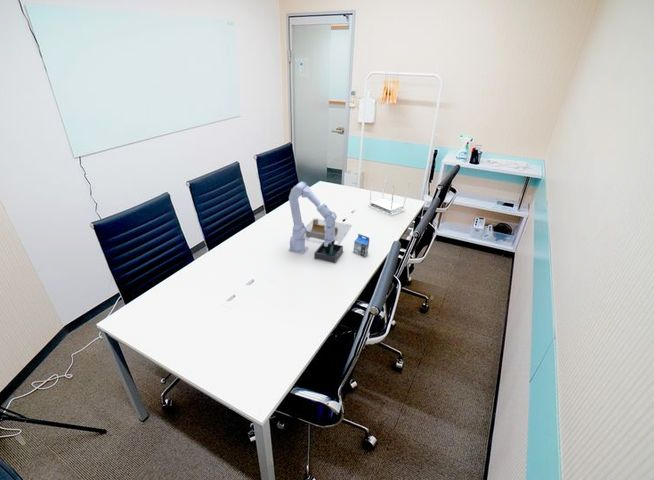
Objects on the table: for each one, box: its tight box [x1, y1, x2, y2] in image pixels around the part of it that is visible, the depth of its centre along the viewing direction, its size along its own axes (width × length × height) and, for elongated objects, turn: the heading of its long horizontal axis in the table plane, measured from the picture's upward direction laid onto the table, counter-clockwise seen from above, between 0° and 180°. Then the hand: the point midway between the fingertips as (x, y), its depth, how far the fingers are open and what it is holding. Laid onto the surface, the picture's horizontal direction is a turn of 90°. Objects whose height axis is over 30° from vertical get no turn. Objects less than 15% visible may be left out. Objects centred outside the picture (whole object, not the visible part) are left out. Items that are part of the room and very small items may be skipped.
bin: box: [313, 241, 344, 264], centre depth 211 cm, size 14×16×4 cm
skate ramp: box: [305, 217, 351, 242], centre depth 239 cm, size 29×35×8 cm
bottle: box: [325, 243, 333, 256], centre depth 210 cm, size 5×5×9 cm
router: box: [368, 174, 411, 217], centre depth 271 cm, size 19×25×24 cm
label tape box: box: [352, 233, 370, 258], centre depth 211 cm, size 9×4×12 cm, turn 47°
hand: (328, 251), depth 211 cm, fingers closed on bottle, 5 cm apart
